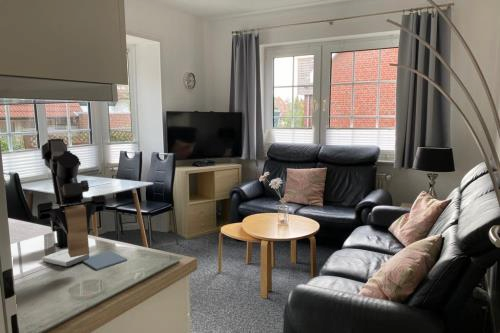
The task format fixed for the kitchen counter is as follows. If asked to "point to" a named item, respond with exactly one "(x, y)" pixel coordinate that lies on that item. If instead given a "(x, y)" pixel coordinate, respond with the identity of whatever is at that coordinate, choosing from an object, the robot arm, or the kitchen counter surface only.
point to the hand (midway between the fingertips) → (77, 231)
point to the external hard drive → (64, 258)
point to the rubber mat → (104, 260)
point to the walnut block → (77, 230)
